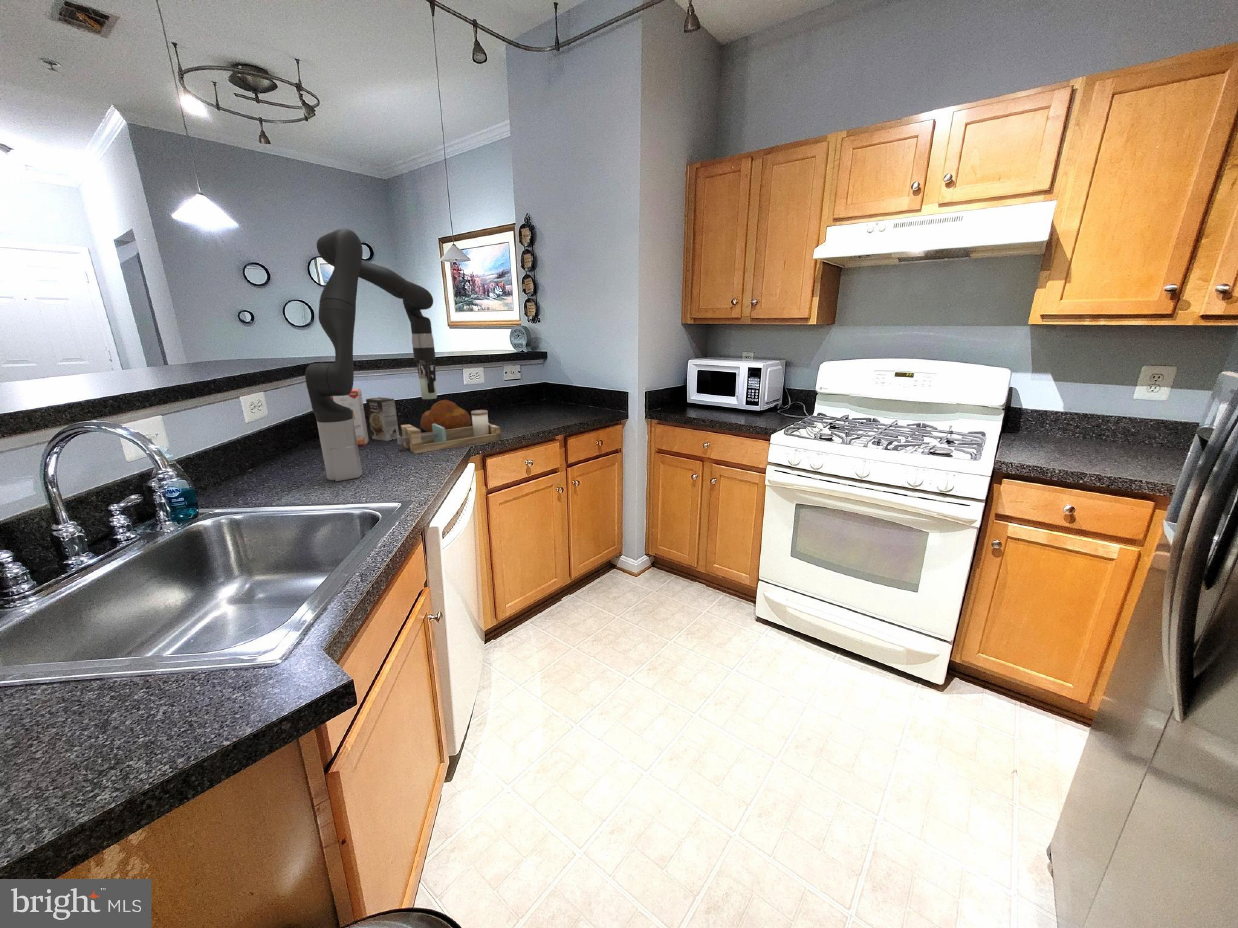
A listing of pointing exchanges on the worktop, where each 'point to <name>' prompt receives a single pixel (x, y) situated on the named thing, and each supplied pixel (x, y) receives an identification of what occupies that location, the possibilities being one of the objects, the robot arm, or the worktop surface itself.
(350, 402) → the cracker box
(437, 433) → the pusher
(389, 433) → the coffee box
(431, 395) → the jar sage
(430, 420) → the bread
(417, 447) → the wooden tray
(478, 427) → the jar cream
